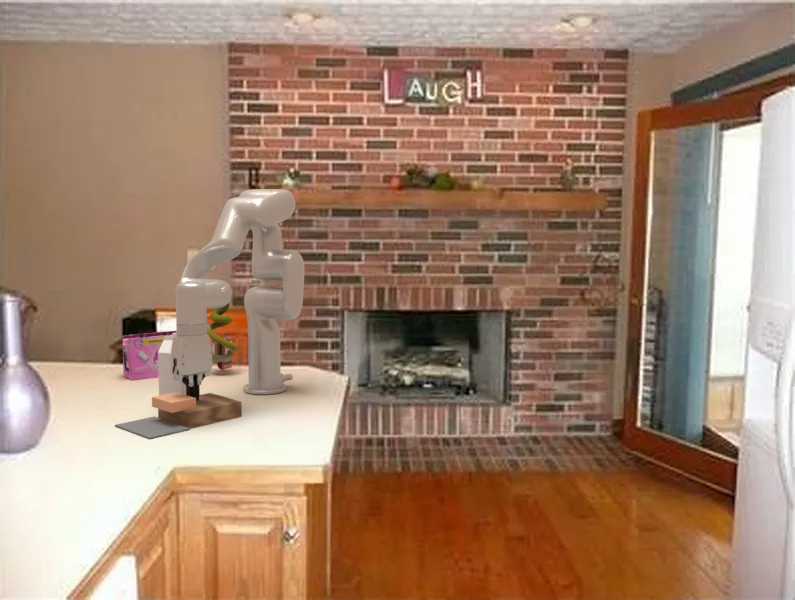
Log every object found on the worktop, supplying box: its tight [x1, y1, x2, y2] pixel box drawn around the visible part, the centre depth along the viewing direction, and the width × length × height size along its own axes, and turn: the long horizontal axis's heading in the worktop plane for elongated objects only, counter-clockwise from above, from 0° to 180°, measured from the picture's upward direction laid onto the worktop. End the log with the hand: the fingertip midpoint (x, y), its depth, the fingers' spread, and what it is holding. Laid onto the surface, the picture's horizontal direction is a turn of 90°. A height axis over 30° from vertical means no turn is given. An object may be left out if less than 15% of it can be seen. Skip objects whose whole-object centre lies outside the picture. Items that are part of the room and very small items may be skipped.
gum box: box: [121, 330, 177, 381], centre depth 252 cm, size 24×8×14 cm, turn 130°
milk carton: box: [158, 336, 186, 396], centre depth 214 cm, size 7×7×19 cm
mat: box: [114, 416, 191, 440], centre depth 190 cm, size 11×16×1 cm
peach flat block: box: [151, 392, 196, 413], centre depth 195 cm, size 7×9×2 cm
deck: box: [157, 392, 243, 429], centre depth 200 cm, size 16×14×4 cm
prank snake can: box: [207, 302, 239, 370], centre depth 254 cm, size 12×10×25 cm
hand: (193, 400), depth 198 cm, fingers closed
